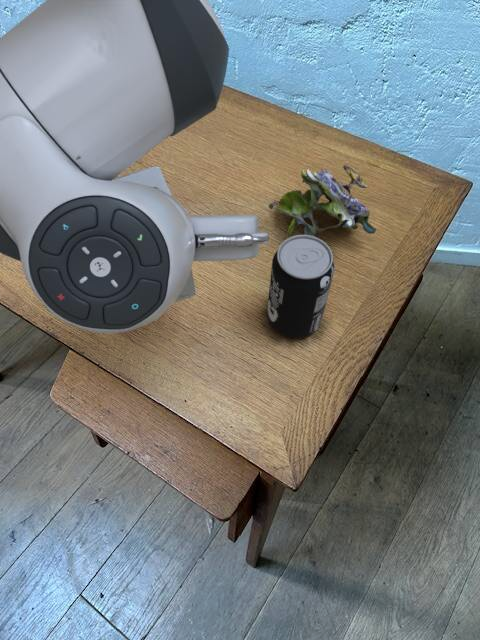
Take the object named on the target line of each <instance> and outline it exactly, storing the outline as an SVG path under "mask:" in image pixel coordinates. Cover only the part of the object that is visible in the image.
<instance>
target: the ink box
mask: <svg viewBox="0 0 480 640" xmlns="http://www.w3.org/2000/svg"><path fill="white" fill-rule="evenodd" d="M112 181H126V182H133V183H138V184H142V185H146V186H150V187H154V188H157V189H160V190H162V191H164V192H166V193H168V194H169V195H171V196H172V197H173V195H172V192H171V189H170V188H169V186H168V184H167V182H166V178H165V176H164V175H163V172H162V169H161V167H158V165H152V166H150V167H149V166H148V167H146V168H143V169H140V170H136V171H133V172H129V173H126V174H123V175H120V176H117V177H115V178H114V179H113V180H112ZM196 295H197V290H196V285H195V280H194V276H193V270H192V268H191V272H190V275H189V278H188V280H187V283H186V285H185V287H184V289H183V290H182V292H181V294H180V295H179V296H178V298H177V299H176V301H175V302H174V303H173V304H175V303H178V302H181V301H184V300H186V299H189V298H192V297H195V296H196Z"/></svg>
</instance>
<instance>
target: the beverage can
mask: <svg viewBox="0 0 480 640" xmlns="http://www.w3.org/2000/svg"><path fill="white" fill-rule="evenodd" d="M334 274H335V261H334V255H333V251H332V249H331V247H329V245H328V244H327V243H326V241H323V240H322V239H320V238H319V237H317V236H315V235H314V236H310V235H304V234H295V235H293V236H292V235H291V236H290V238H288V237H287V238H286V239H285V240H284V241H282V243H281V244H280V245H279V246H278V249H277V250H276V251H275V253H274V254H273V257H272V261H271V270H270V280H269V288H268V289H269V290H268V301H267V309H266V317H267V321H268V324H269V326H270V327H271V329H273V331H274V332H276V333H277V334H278V335H280V336H282V337H284V338H288V339H295V340H299V339H304V338H308V337H310V336H312V335H313V334H315V332H316V331H318V329H319V328H320V326H321V323H322V321H323V316H324V313H325V308H326V305H327V301H328V298H329V294H330V290H331V285H332V282H333V278H334Z"/></svg>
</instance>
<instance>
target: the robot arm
mask: <svg viewBox="0 0 480 640" xmlns="http://www.w3.org/2000/svg"><path fill="white" fill-rule="evenodd" d="M229 54H230V46H229V44H228V42H227V40H226V37H225V33H224V30H223V27H222V24H221V23H220V19H219V18H218V16H217V14H216V12H215V10H214V9H213V6H212V5H211V4H210V2H209V0H45V1H44V2H43V3H42V4H40V5H39V6H38V7H36V8H35V9H34V10H32V12H31V13H29V14H28V15H27V16H26V17H24V18H23V19H22V20H20V21H19V22H18V23H17V24H15V25H14V26H13V27H12V28H11V29H10V30H8V31H6V33H4V34H3V35H2V36H1V37H0V254H2V255H4V256H7V257H9V258H10V259H14V260H15V261H19V262H21V267H22V271H23V273H24V276H25V279H26V281H27V283H28V285H29V287H30V289H31V290H32V292H33V294H35V296H36V297H37V298H38V300H39V301H40V303H42V305H43V306H44V307H45V308H46V309H47V310H48V311H49V312H50V313H51V314H52V315H54V316H55V317H57V318H58V319H60V320H61V321H63V322H65V323H67V324H69V325H70V326H73V327H76V328H78V329H80V330H84V331H88V332H92V333H98V334H121V333H125V332H130V331H133V330H136V329H139V328H142V327H144V326H146V325H149V324H150V323H153V322H154V321H156V320H157V319H159V318H161V317H162V316H163V315H164V314H165V313H167V311H168V310H169V309H170V308H171V307H172V306H173V305H174V304H175V303H176V302H175V301H176V299H177V298H178V296H179V295H180V294H181V292H182V290H183V289H184V287H185V285H186V283H187V280H188V278H189V275H190V272H191V269H192V267H193V263H194V262H224V261H225V262H227V261H231V262H232V261H242V260H249V259H253V258H256V257H257V256H258V255H259V253H260V245H267V244H269V240H270V236H269V233H268V232H264V231H260V223H259V222H260V221H259V220H260V219H259V217H258V215H256V214H252V213H251V214H250V213H243V214H242V213H240V214H239V213H237V214H235V213H233V214H197V215H196V214H195V215H193V214H192V215H191V214H190V215H189V213H188V211H187V210H186V208H185V207H184V206H183V205H182V203H181V202H180V201H179V200H177V198H175V197H174V196H173V195H172V194H171V195H172V196H171V195H169V194H168V193H166V192H164V191H162V190H160V189H157V188H154V187H150V186H146V185H142V184H138V183H133V182H126V181H113V179H114V178H117V177H119V175H122V173H123V172H125V171H126V170H127V169H128V168H130V167H131V166H132V165H134V164H135V163H136V162H137V161H139V160H140V159H141V158H143V157H145V156H146V155H147V154H148V153H149V152H150V151H152V150H153V149H154V148H156V147H157V146H158V145H160V144H161V143H162V142H164V141H165V140H166V139H168V138H169V137H175V136H176V135H178V134H179V133H181V132H182V131H184V130H185V129H187V128H189V127H190V126H193V124H195V123H196V122H199V120H201V119H203V118H205V117H206V116H207V115H210V114H211V113H212V112H214V111H215V110H216V109H217V106H218V103H219V101H220V97H221V93H222V90H223V88H224V83H225V79H226V74H227V70H228V64H229ZM174 302H175V303H174Z"/></svg>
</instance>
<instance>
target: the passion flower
mask: <svg viewBox="0 0 480 640" xmlns="http://www.w3.org/2000/svg"><path fill="white" fill-rule="evenodd" d="M342 169H343V170H344V171H345V172H346V173H347V175H348V176H349V178H350V179H351V180H350V181H349V184H343V182H339V181H337V179H336V178H335V177H334V176H333V175H332V174H331V173H329V172H328V170H327V169H322V168H320V170H321V171H314V172H313V173H312V172H311V170H310V169H308V168H307V169H306V173H305V170H304V169H301V170H300V175H301V178H302V181H301V183H305V184H306V185H308V186H309V189H306V191H305V192H303V193H302V190H300V189H295V190H291V191H287V192H286V193H285V194H283V195H282V197H281V198H280V199H279V200H273V201H272V202H271V203H269V204H268V208H269V209H270V210H273V209H274V208H275V209H276V210H278V211H279V212H280V213H281V214H284V215H286V216H289V217H291V218H293V219H292V220H291V222H290V224H289V226H288V228H287V233H286V237H287V239H288V238H290V237H292V234H293V231H294V230H295V229H296V227H297V226H299V225H300V224H301V225H304V229H303V235H310V236H314V237H315V236H318V235H319V234H320V233H321V232H324V231H327V230H331V229H337V228H341V227H342V228H343V229H346V228H348V229H352V230H357V229H358V227H359V226H358V224H360V225H361V226H362V228H363V231H364V232H366V233H367V234H371V235H372V234H375V233H376V232H377V228H376V227H374V226H373V225H372V224H371V223H370V222H369V219H370V213H371V212H370V210H368V209H366V206H365V205H364V204H362V203H360V201H359V200H358V199H357V197H353V195H352V194H351V189H352V187H353V186H354V185H357V186H358V187H359V188H361V189H367V188H368V185H366V184H365V183H364V182H363V178H362V177H361V176H360V174H359V173H358V172H355V170H354V169H353V168H352V167H350V166H348V165H346V164H344V165H343V166H342ZM322 196H324V197H325V199H327V200H328V201H327V202H319V201H320V199H321V198H322ZM317 210H319V211H322V212H321V215H320V216H319V217H318V218H317V219H315V218H314V216H313V214H314V211H317ZM325 213H327V214H328V215H330V216H331V217H332V218H336V219H337V220H338V224H335V225H329V226H328V227H327V226H326V227H323V228H319V227H318V224H319V222H320V220H321V219H322V217H323V215H324V214H325ZM305 218H308V219H309V220H310V221H311V224H312V225H311V224H309V223H307V222H306V221H305V220H304V219H305Z"/></svg>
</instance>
